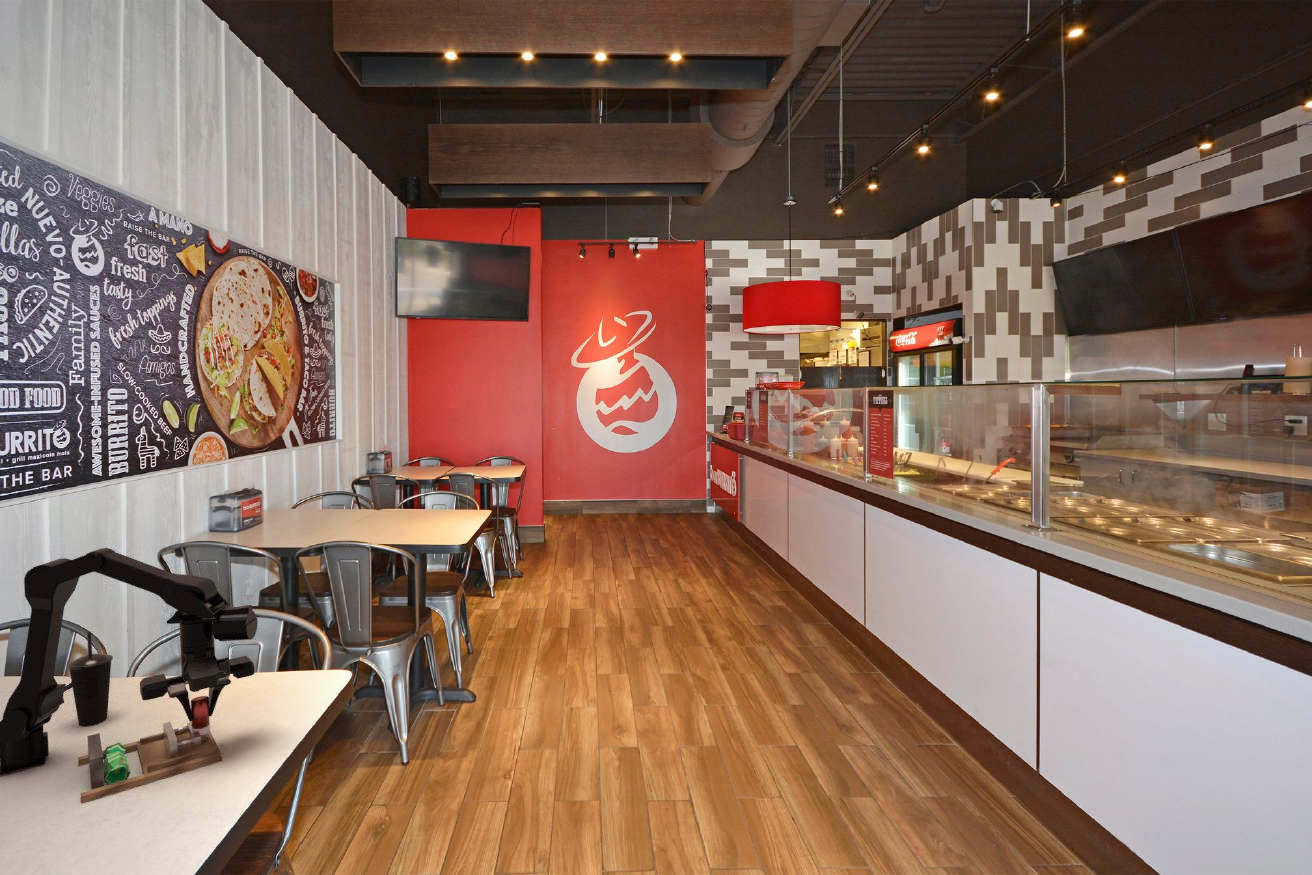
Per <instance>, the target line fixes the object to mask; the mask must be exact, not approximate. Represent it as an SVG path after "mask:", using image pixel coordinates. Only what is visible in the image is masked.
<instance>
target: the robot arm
mask: <svg viewBox="0 0 1312 875" xmlns="http://www.w3.org/2000/svg"><path fill="white" fill-rule="evenodd" d="M91 573H97V574H100V575H103V576H105V577H108V578H111V579H114V580H117V581H119V582H122V583H125V584H127V585H130V586H133V587H136V588H139V589H141V590H144V591H147V592H149V593H153V594H154V595H156V596H158V597H160V598H161V600H163V602H164V603H165V604H166V605H168V606H170V607H171V608H173V609H175V610H176V611H175V612H174V613H173V615H172V616H171V617H169V619H168V620H166V624H168V625H173V624H175V625H176V624H179V645H180V646H179V648H180V649H179V650H180V667H181V668H180V669H181V671H180V673H181V675H177V676H173V677H168V678H167V677H166V675H165V673H160V674H156V675H155V674H154V675H152V676H146V677H143V678H142V679H141V680H140V681H139V692H140V696H141V700H142V701H150V700H155V699H159V698H163V697H165V695H166V694H168V697H169V698H170V699H174V698H176V699H177V700H178V701H179V702H180V704H181V706H182V707H183V710H184V711H185V714H186V716H187V719H188V721H189V722H192V712H191V701H190V699H189V698H190V695H189V692H192V693H196V692H200V691H201V690H205V689H208V697H209V717H212V716H213V714H214V711H215V708H216V705H217V702H218V700H219V696H220V695H221V693H222V690H223V689H224V688H225V687H226V686H228V685H230V684H231V683H232V680H231V679H230V677H231V674H232V676H233V677H234V678H236V679H243V678H247V677H252V676H254V675H255V664H254V662H253V660H252V659H251V658H250V657H249V656H247V655H243V656H239V657H238V656H237V657H235V658H229V657H224V658H217V656H216V649H215V648H216V646H215V645H216V644H215V640H218V641H219V642H234V641H244V640H245V641H247V640H253V639H254V638H255V636H256V634H257V630H258V617H257V614H256V613H255V611H254V610H253V605H252V604H247V605H242V606H231V605H230V603H229V602H228V601H227V599H226V598H224V597H223V595H222V594H221V592H219V591H218V589H217V586H216V583H215V582H214V581H213V580H212V579H210V578H208V577H203V576H200V575H199V576H198V575H193V574H179V573H173V572H170V571H167V570H164V569H162V568H159V567H156V566H154V565H151V564H148V563H145V562H143V561H140V560H138V559H135V558H132V557H130V556H127V555H124V554H121V553H119V552H116V551H115V550H114V549H112V548H109V547H108V548H107V547H102V548H99V549H96V550H95V549H94V550H93V551H90V552H88V553H86V554H85V555H82V556H79V557H76V558H74V559H69V558H66V557H63V558H62V557H61V558H57V559H54V560H52V561H48V562H45V563H42V564H39V565H37V566H33V567H32V568H31V569H29V570H27V572H26V573H25V575H24V578H23V579H24V580H23V587H24V597H25V599H26V601H27V603H28V605H29V606H30V617H29V623H28V629H27V637H26V642H25V650H24V655H23V660H22V661H23V663H22V667H21V668H22V669H21V675H20V680H19V682H18V684H17V685H16V687H15V689H14V690H13V692H12V693H11V695H10V697H9V698H8V700H7V703H6V705H5V709H4V711H3V713H2V719H1V720H0V776H3V775H7V774H10V773H14V772H18V771H22V770H26V769H30V768H34V767H37V766H40V765H44V764H45V763H46V759H47V757H49V755H50V754H49V752H50V751H49V732H47V731H44V725H46V724H48V723H49V722H50V721H51V720H52V719H51V718H52V716H53V714H55V713H56V712H57V711H59V708H60V706H61V705H63V704H64V703H65V699H64V693H65V690H66V687H67V685H66V683H60V684H59V683H58V682H57V680H56V678H55V668H56V662H57V657H58V656H57V655H58V650H59V644H60V638H61V632H62V625H63V617H64V611H65V606H66V604H67V602H68V601H69V600H70V598H71V597H72V595H73V593H74V592H75V590H76V588H77V585H78V583H79V580H80V578H81V577H82V576H85V575H88V574H91ZM208 605H210V606H209V607H208ZM187 685H188V689H189V691H188V690H187Z"/></svg>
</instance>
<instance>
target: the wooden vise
mask: <svg viewBox="0 0 1312 875" xmlns="http://www.w3.org/2000/svg"><path fill="white" fill-rule="evenodd" d="M175 735H176V738H177V742H180V741H184V740H187V739H191V738H190V736H189V733H188V731H185V732H182V733H178V734H175ZM101 741H102V740H101V734H100V732H98V733H95V734H91V735H87V754H84V755H81V756H78V757H77V763H78V764H77V765H78V767H80V766H84V765H88V771H89V772H88V773H89V782H90V789H89V790H85V791H83V792H80V804H83V803H87V802H90V801H93V800H96V799H100V798H103V797H107V796H109V795H112V794H116V793H119V792H123V791H127V790H130V789H133V788H136V787H139V786H143V785H146V784H150V783H153V782H156V781H160V780H164V779H165V778H167V779H168V778H169V777H173V776H176V775H179V774H183V773H185V772H189V771H192V770H197V769H200V768H202V767H205V766H209V765H213V764H216V763H219V762H223V754H222V752H221V750H220V748H219V746H218V744H217V742H216V740H215V738H214V736H213V734H212V732H211V731H210V739H209V740H208V741H206V742H204V743H201V744H200V745H196V746H194V745H193V744H189V745H185V746H182V747H178V748H177V749H178V757H177V758H173V759H170V757H169V754H168V751H167V748H166V745H165V742H164V733H163V732H161V733H157V734H152V735H149V736H146V737H141V738H139V740H137V741H133V742H129V743H126V744H122V745H123V746H124V747H125V748H126V750H125V753H124V755H125V754H128V753H131V752H132V753H133V752H135V751H137V752H136V753H137V756H138V759H139V763H140V768H141V772H142V774H141V775H137V776H133V777H130V778H128V779H126V780H123V781H120V782H116V783H113V784H109V785H107V784H106V785H105V783H104V781H105V773H104V767H103V762H104V759H103V753H104V751H105V749H104V750H103V748H102V747H103V746H102V742H101Z"/></svg>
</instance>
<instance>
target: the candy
mask: <svg viewBox="0 0 1312 875" xmlns="http://www.w3.org/2000/svg"><path fill="white" fill-rule="evenodd" d="M123 745H124V744H121V743H120V742H116V743H114V744H112V745H109V746H106V748H105V749H104V750H105V751H104V753H103V767H104V775H106V776H105V777H104V785H105V784H106V785H109V784H113V783H116V782H120V781H123V780H126V779H129V777H130V774H131V771H129V769H128V767H129V760H128V757H127V756H126V755H125V754H126V753H125V750H126V748H125V747H124V746H123ZM124 753H125V754H124Z"/></svg>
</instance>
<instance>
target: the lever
mask: <svg viewBox="0 0 1312 875" xmlns="http://www.w3.org/2000/svg"><path fill="white" fill-rule="evenodd" d="M190 707H191V712H192V721H191V722H190V721H189V722H187V723H186V725H185V726H181V727H178V728H173V725H172V722H171V721H168V722H165V723H163V724H162V730H163V732H162V733H164V742H165V745H166V748H167V751H168V754H169V757H170V759H173V758H177V757H178V749H177V748H178V747H182V746H185V745H189V744H193V745H194V746H196V745H200V744H201V743H204V742H206V741H208V740H209V739H210V732H211V724H210V719H211V718H210V716H209V695H201V696H200V695H199V696H196V697H193V698H192V699H191V700H190ZM185 731H188V733H189V736H190V738H191V739H187V740H184V741H180V742H177V738H176V735H175V734H178V733H182V732H185Z"/></svg>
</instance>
